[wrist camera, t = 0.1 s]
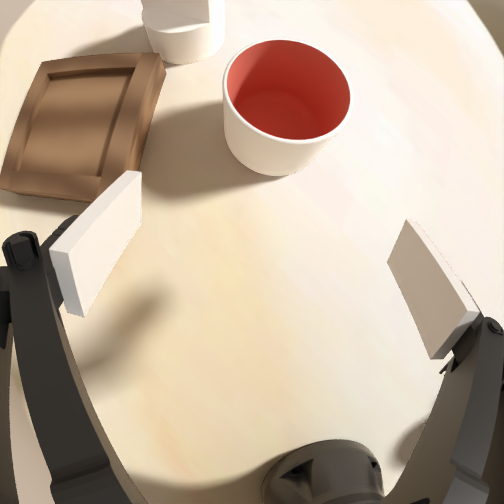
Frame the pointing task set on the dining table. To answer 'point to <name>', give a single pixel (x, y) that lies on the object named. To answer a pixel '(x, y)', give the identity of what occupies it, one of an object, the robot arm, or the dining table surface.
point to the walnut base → (82, 125)
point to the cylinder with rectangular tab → (184, 28)
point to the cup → (283, 104)
